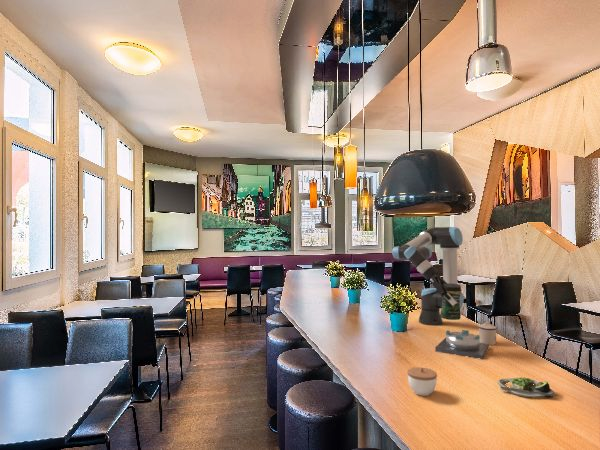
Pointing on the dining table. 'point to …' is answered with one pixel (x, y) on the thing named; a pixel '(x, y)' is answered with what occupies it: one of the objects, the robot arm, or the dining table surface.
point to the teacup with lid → (487, 333)
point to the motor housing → (462, 344)
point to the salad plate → (527, 387)
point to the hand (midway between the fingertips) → (457, 302)
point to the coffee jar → (447, 309)
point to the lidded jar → (422, 380)
